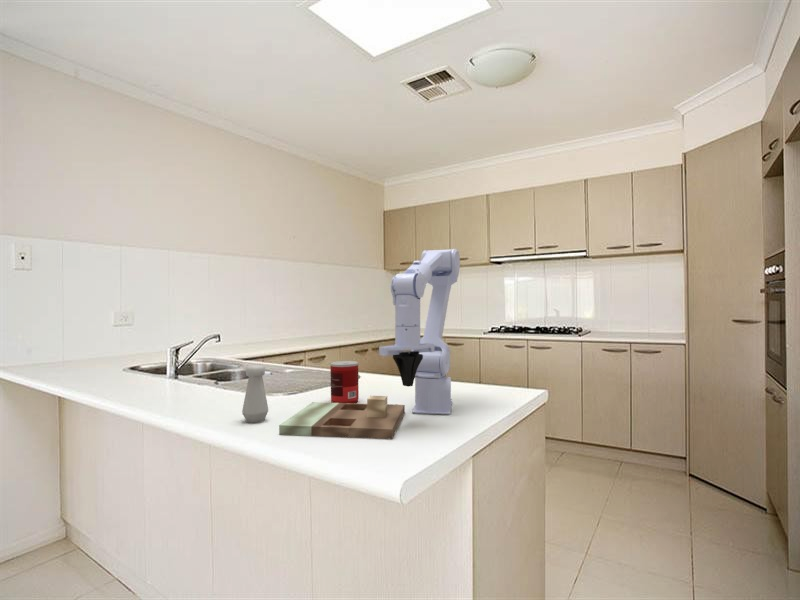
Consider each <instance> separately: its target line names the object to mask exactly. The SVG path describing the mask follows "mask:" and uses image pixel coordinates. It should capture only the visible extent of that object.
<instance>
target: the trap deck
mask: <svg viewBox="0 0 800 600" xmlns="http://www.w3.org/2000/svg"><path fill="white" fill-rule="evenodd" d="M405 406H406V405H405V404H391V403H390V404H388V403H387V415H386V416H385V418H382V417H367V403H358V402H356V403H332V402H324V401H323V402H322V401H321V402H316V401H312V402H311V403H309V404H308V405H306V406H305V407H303V408H301V409H300V410H299V411H298V412H296V413H295V414H294V415H292V416H290V417H289V418H288V419H286V420H285V421H283V422H281V424H279V425H278V430H279V431H278V434H279V436H302V437H303V436H304V437H305V436H306V437H325V438H326V437H330V438H349V439H351V438H353V439H378V440H379V439H380V440H381V439H383V440H393V438H394V436H395V434H396V432H397V429H398V427H399V425H400V424H401V421H402V419H403V417H404V415H405V413H406V412H405V410H406V409H405V408H406V407H405Z"/></svg>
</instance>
